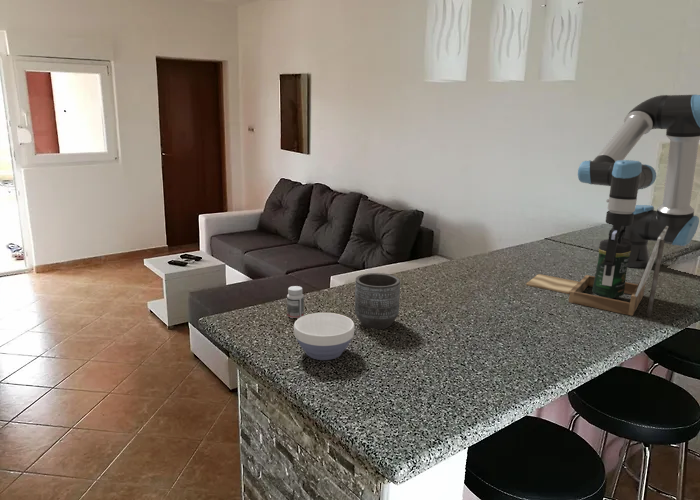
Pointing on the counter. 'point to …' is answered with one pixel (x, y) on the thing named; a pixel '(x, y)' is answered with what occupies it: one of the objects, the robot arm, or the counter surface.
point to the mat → (552, 283)
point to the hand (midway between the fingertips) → (610, 280)
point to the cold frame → (630, 288)
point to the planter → (377, 299)
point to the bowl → (324, 334)
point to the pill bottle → (295, 302)
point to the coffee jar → (619, 271)
